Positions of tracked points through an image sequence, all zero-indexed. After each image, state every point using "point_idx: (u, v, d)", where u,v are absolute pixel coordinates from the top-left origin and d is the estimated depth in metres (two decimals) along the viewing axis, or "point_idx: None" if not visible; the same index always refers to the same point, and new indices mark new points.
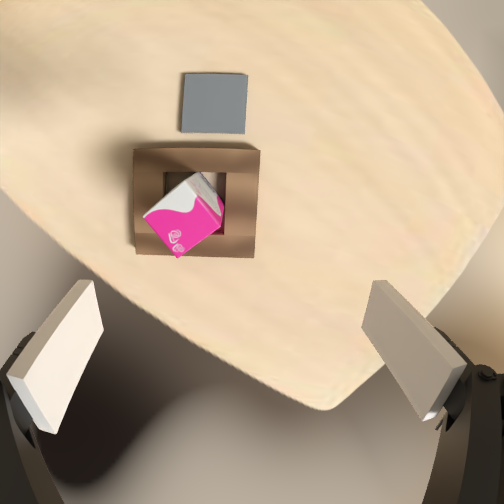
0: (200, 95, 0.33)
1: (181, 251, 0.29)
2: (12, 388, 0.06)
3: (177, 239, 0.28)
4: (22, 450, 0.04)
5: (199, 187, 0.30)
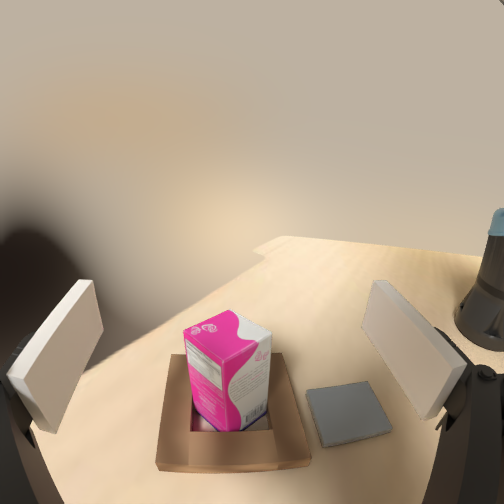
0: (351, 397, 0.30)
1: (191, 332, 0.25)
2: (12, 388, 0.06)
3: (206, 329, 0.25)
4: (22, 450, 0.04)
5: (259, 371, 0.25)
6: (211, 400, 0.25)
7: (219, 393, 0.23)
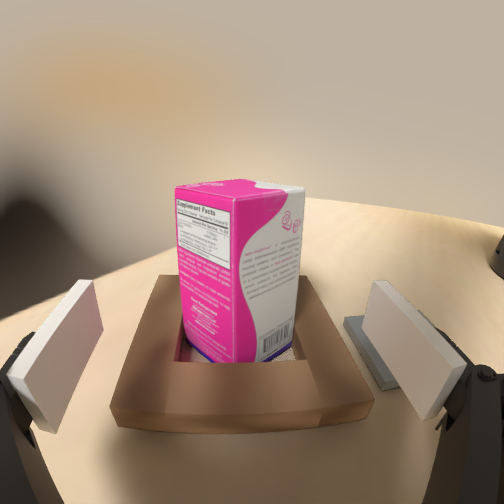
0: None
1: (186, 186, 0.17)
2: (12, 388, 0.06)
3: (208, 185, 0.17)
4: (22, 450, 0.04)
5: (287, 253, 0.17)
6: (209, 303, 0.17)
7: (224, 277, 0.15)
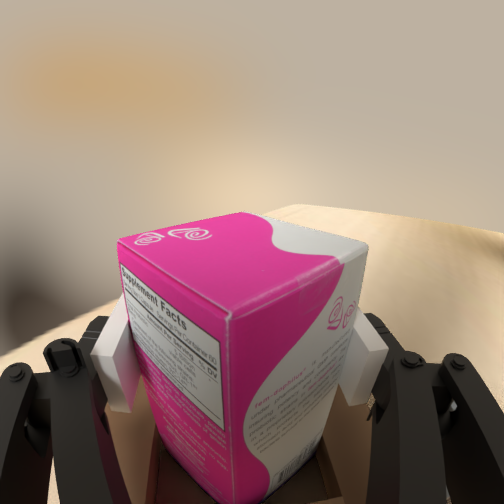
0: None
1: (134, 242, 0.08)
2: (92, 369, 0.08)
3: (179, 236, 0.09)
4: (99, 438, 0.05)
5: (329, 363, 0.09)
6: (192, 442, 0.08)
7: (214, 433, 0.07)
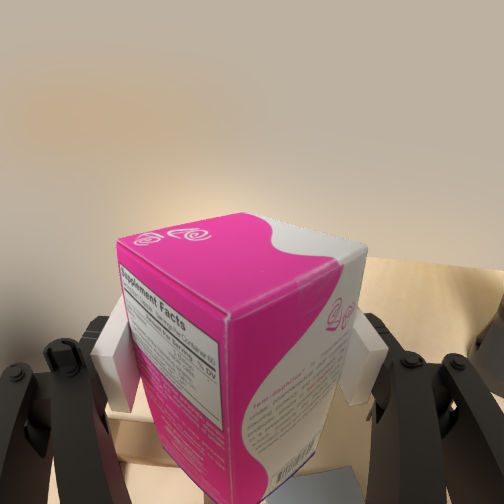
0: (325, 491, 0.18)
1: (134, 242, 0.08)
2: (92, 368, 0.08)
3: (178, 236, 0.09)
4: (99, 438, 0.05)
5: (327, 364, 0.09)
6: (190, 442, 0.08)
7: (212, 433, 0.07)
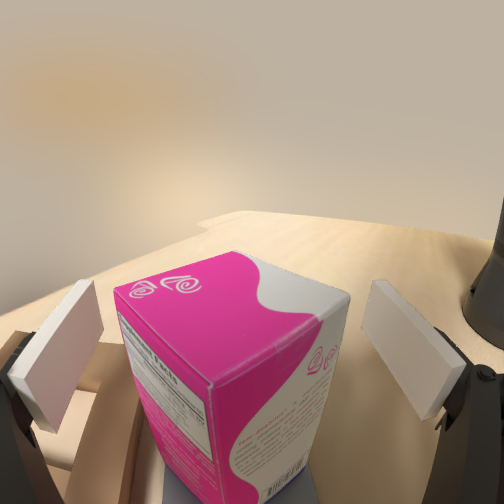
0: None
1: (129, 293, 0.09)
2: (13, 388, 0.06)
3: (170, 287, 0.09)
4: (23, 450, 0.04)
5: (310, 399, 0.09)
6: (187, 464, 0.09)
7: (205, 461, 0.07)
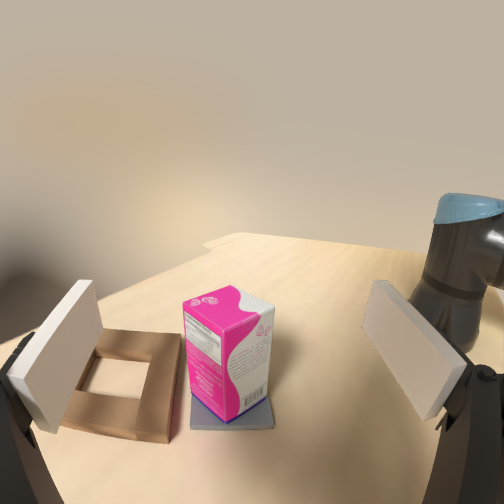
0: None
1: (190, 304, 0.24)
2: (12, 388, 0.06)
3: (206, 302, 0.25)
4: (22, 450, 0.04)
5: (260, 348, 0.25)
6: (208, 379, 0.24)
7: (218, 369, 0.23)
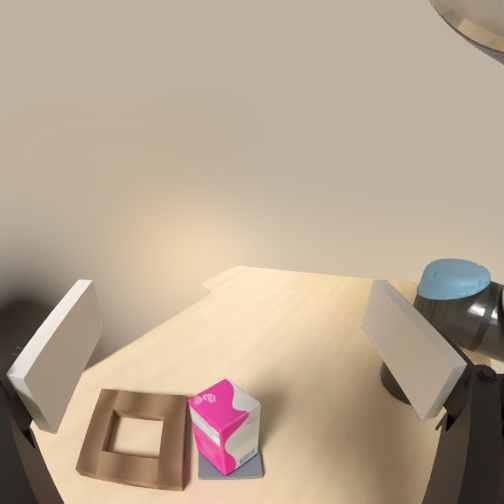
0: None
1: (194, 402, 0.28)
2: (12, 388, 0.06)
3: (206, 399, 0.29)
4: (22, 450, 0.04)
5: (250, 429, 0.29)
6: (211, 449, 0.28)
7: (218, 447, 0.27)
